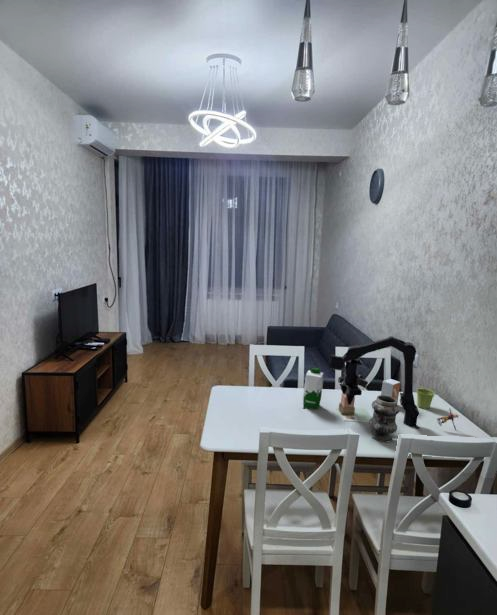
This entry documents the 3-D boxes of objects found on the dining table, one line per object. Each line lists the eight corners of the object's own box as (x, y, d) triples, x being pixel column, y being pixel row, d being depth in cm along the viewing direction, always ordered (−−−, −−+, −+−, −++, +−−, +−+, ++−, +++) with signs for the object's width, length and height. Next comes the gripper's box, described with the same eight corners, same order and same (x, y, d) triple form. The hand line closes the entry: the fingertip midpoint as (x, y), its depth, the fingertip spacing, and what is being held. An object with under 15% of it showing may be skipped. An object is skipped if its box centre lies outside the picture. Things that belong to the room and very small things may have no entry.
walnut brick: (354, 415, 205) (354, 407, 204) (342, 415, 204) (342, 407, 203) (350, 410, 210) (351, 403, 210) (338, 410, 210) (339, 402, 209)
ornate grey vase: (395, 446, 178) (400, 406, 175) (366, 439, 182) (370, 400, 179) (396, 434, 189) (401, 396, 186) (368, 428, 193) (373, 391, 190)
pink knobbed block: (353, 407, 204) (355, 396, 203) (343, 407, 204) (345, 396, 203) (350, 403, 209) (351, 392, 208) (340, 403, 209) (342, 392, 208)
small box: (390, 408, 219) (393, 384, 217) (379, 404, 224) (382, 381, 222) (397, 405, 225) (400, 381, 223) (386, 401, 229) (389, 378, 227)
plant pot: (429, 404, 229) (431, 389, 228) (435, 411, 220) (437, 395, 219) (412, 402, 230) (414, 387, 229) (417, 409, 221) (419, 393, 219)
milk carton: (321, 405, 216) (325, 368, 213) (318, 412, 207) (322, 373, 204) (304, 402, 218) (307, 365, 215) (301, 409, 210) (304, 370, 207)
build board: (377, 424, 198) (377, 421, 198) (344, 422, 197) (344, 420, 197) (365, 410, 214) (365, 408, 214) (334, 409, 213) (335, 406, 213)
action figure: (440, 433, 200) (458, 426, 200) (443, 436, 197) (462, 429, 198) (434, 411, 198) (452, 404, 198) (438, 413, 195) (456, 406, 195)
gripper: (374, 379, 195) (370, 410, 198) (360, 366, 214) (357, 395, 216) (350, 377, 194) (347, 409, 197) (339, 365, 213) (336, 394, 215)
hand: (347, 402), depth 206 cm, fingers open, 6 cm apart
